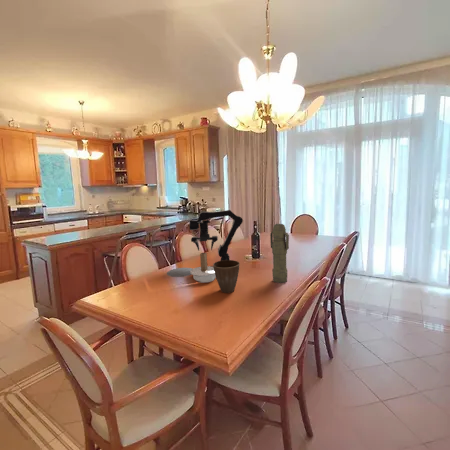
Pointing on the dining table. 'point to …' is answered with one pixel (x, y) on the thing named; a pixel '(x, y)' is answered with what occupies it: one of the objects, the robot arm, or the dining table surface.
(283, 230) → the stone statue
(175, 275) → the mat
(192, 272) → the lid
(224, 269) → the plant pot
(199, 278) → the bowl
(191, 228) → the robot arm
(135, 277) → the dining table surface
